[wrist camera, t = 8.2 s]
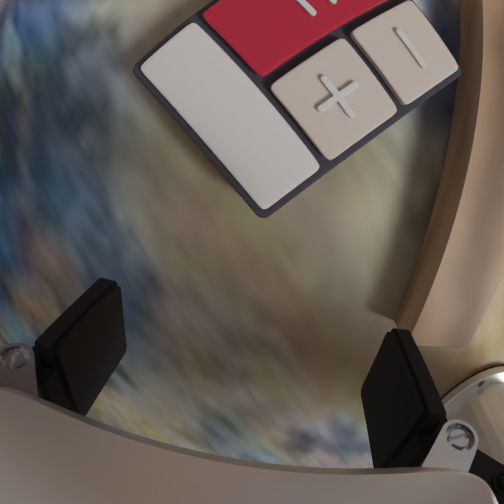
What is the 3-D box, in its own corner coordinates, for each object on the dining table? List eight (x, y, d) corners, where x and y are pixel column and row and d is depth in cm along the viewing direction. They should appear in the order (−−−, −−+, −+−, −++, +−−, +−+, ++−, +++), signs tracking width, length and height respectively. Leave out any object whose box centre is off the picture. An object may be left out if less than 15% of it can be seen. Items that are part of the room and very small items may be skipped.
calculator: (472, 72, 12) (262, 227, 16) (436, 78, 16) (262, 206, 20) (347, -76, 9) (122, 67, 13) (332, -45, 13) (150, 77, 17)
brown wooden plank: (512, -31, 9) (532, -39, 7) (452, 325, 22) (467, 347, 20) (454, -66, 9) (470, -80, 7) (394, 320, 22) (406, 345, 20)
